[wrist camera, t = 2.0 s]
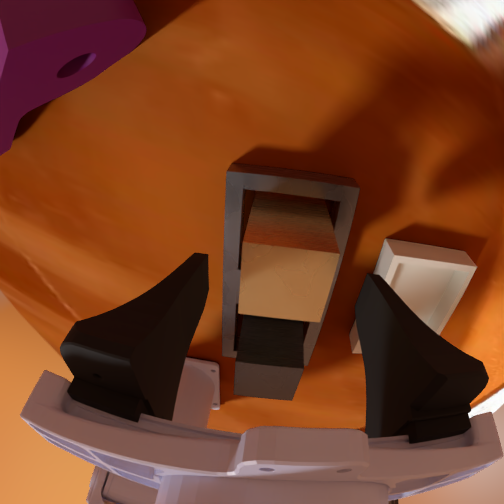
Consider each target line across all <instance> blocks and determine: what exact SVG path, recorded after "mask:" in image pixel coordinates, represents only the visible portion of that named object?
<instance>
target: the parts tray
mask: <svg viewBox="0 0 504 504" xmlns="http://www.w3.org/2000/svg"><path fill="white" fill-rule="evenodd" d="M476 268H477V266H476V265H475V263H474V262H473V261H472V260H471V258H470V257H469V256H468V254H467V253H466V252H465V251H461V250H455V249H449V248H443V247H437V246H431V245H425V244H419V243H413V242H407V241H400V240H394V239H387V238H385V240H384V244H383V247H382V250H381V253H380V256H379V258H378V261H377V264H376V267H375V270H374V273H373V274H378V275H380V276H381V277H382V278H383V279H384V280H385V281H386V282H387V283H388V284H389V286H390V287H391V288H392V289H393V290H394V291H395V292H396V294H397V295H398V296H399V297H400V298H401V299H402V300H403V301H404V302H405V304H406V305H407V306H408V307H409V308H410V309H411V310H412V311H413V312H414V313H415V314H416V315H417V316H418V317H419V318H420V319H421V320H422V321H423V322H424V323H425V324H426V325H428V326H429V327H430V328H431V329H432V330H433V331H434V332H436V333H437V334H438V335H439V334H440V333H441V331H442V330H443V328H444V326H445V325H446V323H447V322H448V320H449V318H450V317H451V315H452V313H453V311H454V310H455V308H456V306H457V305H458V303H459V301H460V299H461V297H462V295H463V294H464V292H465V290H466V288H467V286H468V284H469V282H470V280H471V278H472V276H473V274H474V272H475V270H476ZM349 337H350V343H351V349H352V353H361V354H362V351H361V346H360V341H359V336H358V331H357V326H356V319H355V321H354V324H353V326H352V329H351V331H350V333H349Z"/></svg>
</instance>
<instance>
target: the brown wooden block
mask: <svg viewBox="0 0 504 504" xmlns="http://www.w3.org/2000/svg"><path fill="white" fill-rule="evenodd" d="M339 256H340V252H339V248H338V244H337V240H336V237H335V233H334V230H333V226H332V223H331V219H330V216H329V212H328V209H327V206H326V202H325V199H321V198H314V197H306V196H299V195H291V194H283V193H274V192H266V191H257V190H256V193H255V197H254V201H253V204H252V208H251V212H250V216H249V220H248V224H247V228H246V231H245V235H244V239H243V246H242V261H241V276H240V292H239V307H238V313H239V314H247V315H255V316H263V317H272V318H281V319H290V320H300V321H310V322H320V320H321V317H322V314H323V311H324V308H325V304H326V301H327V298H328V295H329V291H330V288H331V284H332V281H333V278H334V274H335V271H336V267H337V263H338V260H339Z"/></svg>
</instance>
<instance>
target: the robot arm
mask: <svg viewBox="0 0 504 504" xmlns="http://www.w3.org/2000/svg"><path fill="white" fill-rule="evenodd" d="M208 291H209V276H208V254H202V253H194V254H193V255H192V256H190V257H189V258H188V259H187V260H186V261H185V262H184V263H183V264H181V265H180V266H179V267H178V268H177V269H176V270H174V271H173V272H172V273H171V274H170V275H169V276H167V277H166V278H165V279H164V280H162V281H161V282H160V283H158V284H157V285H156V286H154V287H153V288H151V289H150V290H148V291H147V292H145V293H144V294H142V295H140V296H139V297H137V298H135V299H133V300H131V301H129V302H127V303H126V304H124V305H122V306H120V307H117V308H115V309H113V310H110V311H108V312H105V313H103V314H100V315H97V316H94V317H91V318H87V319H84V320H81V321H77V322H76V323H75V324H74V326H73V327H72V328H71V330H70V331H69V333H68V335H67V336H66V338H65V339H64V341H63V342H62V344H61V346H60V352H61V355H62V357H63V359H64V361H65V363H66V364H67V366H68V367H69V369H70V371H71V372H72V374H73V375H74V379H73V381H72V382H69V381H68V380H67V379H65V378H63V377H61V376H58V375H56V374H54V373H52V372H49V371H47V370H44V372H43V374H42V375H41V377H40V379H39V381H38V382H37V384H36V386H35V388H34V389H33V391H32V393H31V395H30V397H29V398H28V401H27V402H26V404H25V406H24V408H23V410H22V412H21V414H20V416H21V418H22V419H23V420H24V421H25V422H26V423H28V424H29V425H30V426H31V427H32V428H33V429H34V430H35V431H36V432H38V433H39V434H40V435H41V436H42V437H43V438H45V439H46V440H47V441H48V442H50V443H52V444H54V445H56V446H57V447H60V448H61V449H63V450H65V451H67V452H69V453H71V454H73V455H75V456H77V457H79V458H81V459H83V460H85V461H87V462H89V463H92V464H94V465H96V466H95V469H94V472H93V475H92V478H91V481H90V485H89V487H90V490H89V493H88V496H87V499H86V501H87V503H89V504H389V501H391V500H396V499H400V498H404V497H408V496H412V495H416V494H420V493H423V492H427V491H430V490H433V489H436V488H440V487H443V486H446V485H449V484H452V483H455V482H458V481H461V480H464V479H466V478H469V477H471V476H473V475H475V474H476V473H478V472H480V471H482V470H483V469H485V468H487V467H488V466H490V465H492V464H493V463H495V462H496V461H498V460H499V459H501V458H502V457H503V452H502V448H501V443H500V440H499V436H498V432H497V429H496V425H495V422H494V418H493V415H492V412H487V413H483V414H479V415H476V416H473V417H471V418H470V419H469V416H468V413H469V412H470V411H471V407H470V403H471V402H472V401H473V400H474V399H475V398H476V397H477V396H478V395H479V394H480V393H481V392H482V390H483V389H484V388H485V387H486V385H487V383H488V379H489V377H488V374H487V372H486V369H485V367H484V364H483V362H481V361H479V360H477V359H476V358H474V357H472V356H470V355H468V354H466V353H464V352H463V351H461V350H459V349H458V348H456V347H455V346H453V345H452V344H450V343H449V342H447V341H446V340H445V339H443V338H442V337H441V336H439V335H438V334H437V333H436V332H434V331H433V330H432V329H431V328H430V327H429V326H428V325H426V324H425V323H424V322H423V321H422V320H421V319H420V318H419V317H418V316H417V315H416V314H415V313H414V312H413V311H412V310H411V309H410V308H409V307H408V306H407V305H406V304H405V302H404V301H403V300H402V299H401V298H400V297H399V296H398V295H397V294H396V292H395V291H394V290H393V289H392V288H391V287H390V286H389V284H388V283H387V282H386V281H385V280H384V279H383V278H382V277H381V276H380V275H378V274H369V273H367V275H366V278H365V281H364V284H363V286H362V289H361V292H360V294H359V297H358V300H357V302H356V305H355V316H356V326H357V331H358V336H359V341H360V346H361V351H362V356H363V361H364V366H365V375H366V428H365V433H364V432H362V431H360V430H358V429H348V428H340V429H332V428H298V427H282V426H260V427H255V428H251V429H248V430H247V431H246V432H245V433H243V434H239V433H232V432H225V431H219V430H213V429H207V423H208V419H209V414H210V410H211V409H215V410H218V409H220V377H219V364H217V363H215V362H210V361H204V360H198V359H193V358H187V357H186V355H187V352H188V349H189V346H190V343H191V341H192V338H193V336H194V333H195V331H196V328H197V326H198V323H199V320H200V318H201V315H202V313H203V310H204V307H205V303H206V299H207V295H208Z"/></svg>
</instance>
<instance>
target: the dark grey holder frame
mask: <svg viewBox="0 0 504 504" xmlns="http://www.w3.org/2000/svg"><path fill="white" fill-rule="evenodd" d="M246 189H247V190H257V191H266V192H274V193H283V194H291V195H299V196H306V197H314V198H321V199H328V200H334V204H333V209H332V214H331V218H330V219H331V223H332V226H333V230H334V233H335V237H336V240H337V244H338V248H339V252H340V256H339V260H338V263H337V267H336V271H335V274H334V278H333V281H332V284H331V288H330V291H329V295H328V298H327V301H326V304H325V308H324V311H323V314H322V317H321V320H320V322H310V321H305V324H304V327H303V343H304V365H306V366H308V363H309V361H310V358H311V355H312V352H313V350H314V347H315V344H316V341H317V338H318V335H319V332H320V330H321V327H322V324H323V321H324V318H325V315H326V311H327V308H328V305H329V302H330V299H331V296H332V292H333V289H334V286H335V283H336V279H337V276H338V272H339V269H340V266H341V262H342V258H343V255H344V251H345V248H346V244H347V240H348V236H349V232H350V229H351V225H352V221H353V217H354V212H355V208H356V204H357V200H358V195H359V191H360V188H359V186H358V184H357V183H356V181H355V180H354V179H352V178H346V177H340V176H334V175H327V174H321V173H314V172H307V171H299V170H292V169H283V168H275V167H266V166H257V165H246V164H235V163H232V164H231V165H230V167H229V168H228V170H227V175H226V198H225V226H224V260H223V313H222V356H225V357H232V358H236V356H237V350H238V344H239V339H240V337H238V336H236V333H237V316H238V304H239V292H240V276H241V261H242V255H241V253H242V238H243V223H244V209H245V194H246Z"/></svg>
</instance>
